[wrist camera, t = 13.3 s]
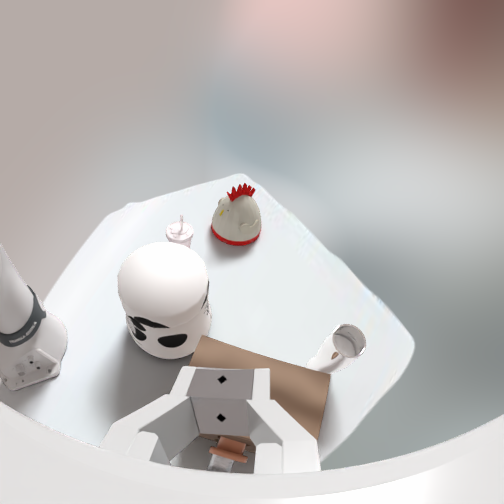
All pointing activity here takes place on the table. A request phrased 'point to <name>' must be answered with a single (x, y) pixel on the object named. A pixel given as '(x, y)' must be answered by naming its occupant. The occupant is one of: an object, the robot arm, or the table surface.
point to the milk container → (165, 299)
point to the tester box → (281, 384)
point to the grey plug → (219, 463)
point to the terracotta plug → (230, 450)
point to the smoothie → (180, 233)
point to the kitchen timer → (237, 217)
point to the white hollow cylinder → (338, 350)
